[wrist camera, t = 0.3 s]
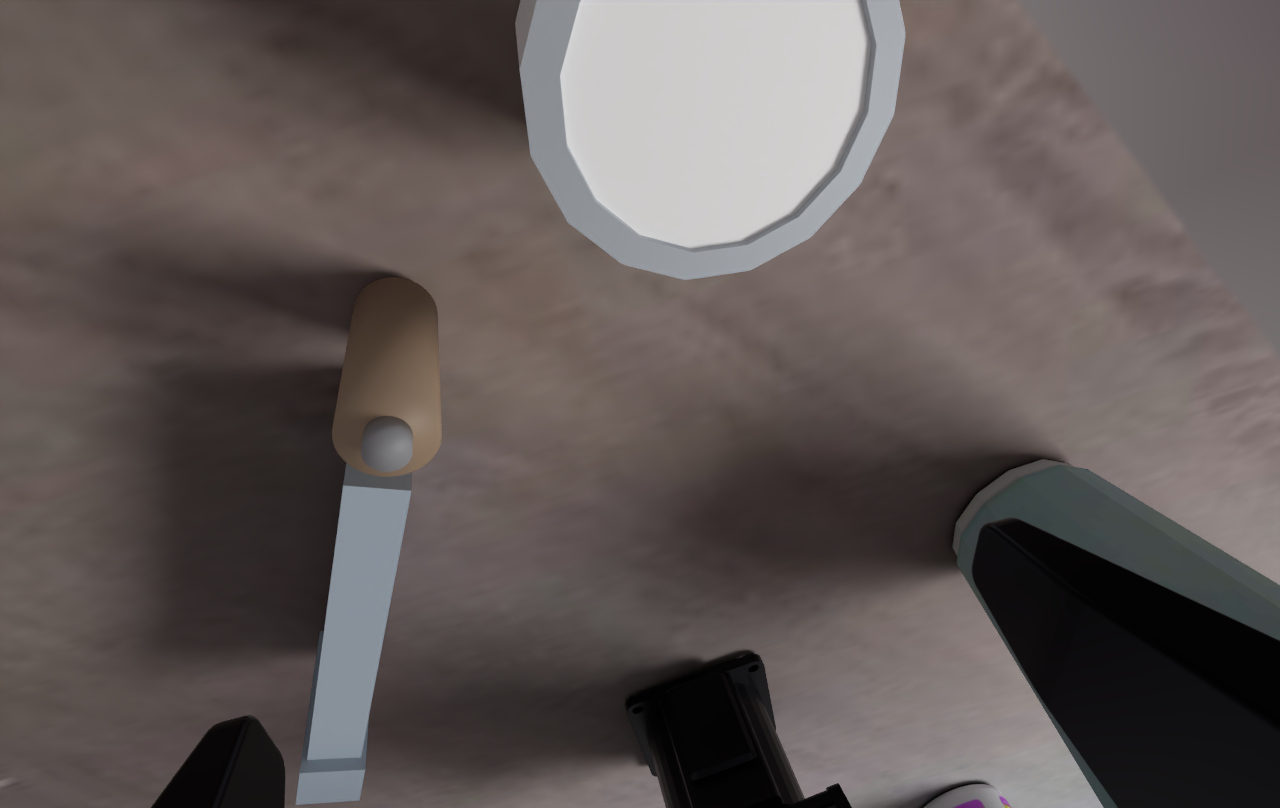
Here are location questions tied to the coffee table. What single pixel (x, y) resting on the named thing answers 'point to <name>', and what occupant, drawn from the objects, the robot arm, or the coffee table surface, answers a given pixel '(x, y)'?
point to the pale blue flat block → (369, 519)
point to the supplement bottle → (970, 798)
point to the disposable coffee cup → (1116, 549)
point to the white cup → (705, 120)
